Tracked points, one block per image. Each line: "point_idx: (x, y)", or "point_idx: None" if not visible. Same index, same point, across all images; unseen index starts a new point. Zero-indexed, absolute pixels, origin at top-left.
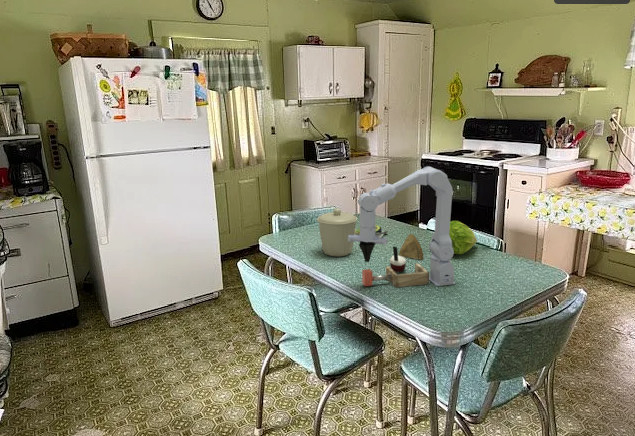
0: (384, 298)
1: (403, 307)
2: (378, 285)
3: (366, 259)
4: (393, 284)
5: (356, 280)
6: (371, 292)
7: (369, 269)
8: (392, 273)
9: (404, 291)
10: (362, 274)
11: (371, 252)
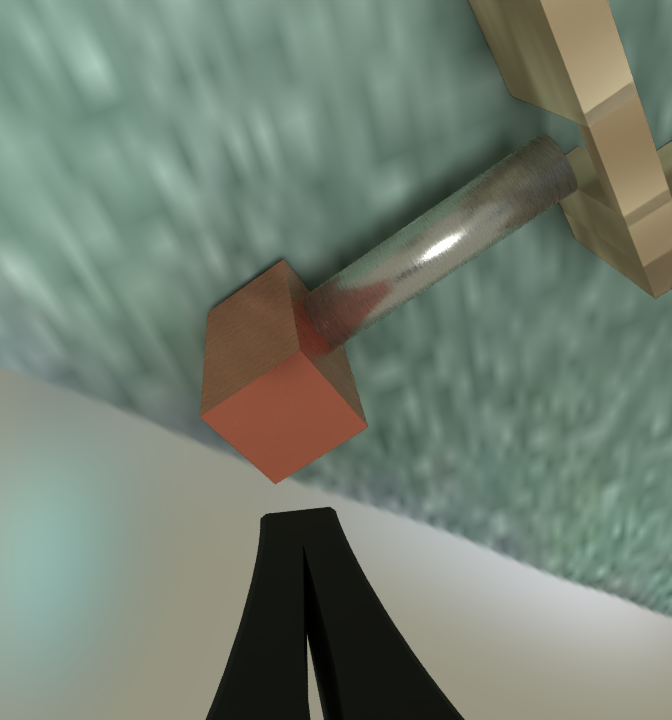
0: (487, 474)
1: (623, 530)
2: None
3: (308, 635)
4: None
5: (80, 211)
6: None
7: (299, 367)
8: (614, 201)
9: None
10: (208, 379)
11: (402, 650)
